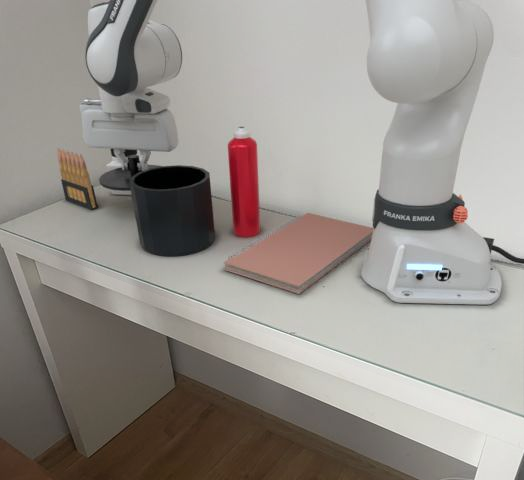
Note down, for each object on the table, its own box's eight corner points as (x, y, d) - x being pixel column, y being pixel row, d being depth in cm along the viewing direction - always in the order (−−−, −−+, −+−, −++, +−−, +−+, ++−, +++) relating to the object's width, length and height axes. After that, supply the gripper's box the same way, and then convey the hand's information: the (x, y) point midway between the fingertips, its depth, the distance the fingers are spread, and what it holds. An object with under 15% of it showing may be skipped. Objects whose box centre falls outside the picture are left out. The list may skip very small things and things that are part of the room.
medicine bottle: (139, 195, 127) (130, 143, 120) (111, 194, 128) (101, 143, 121) (150, 186, 132) (142, 135, 125) (123, 185, 134) (114, 135, 127)
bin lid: (185, 172, 117) (182, 148, 114) (153, 196, 105) (149, 169, 102) (123, 168, 121) (118, 144, 118) (85, 190, 109) (80, 165, 106)
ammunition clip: (98, 207, 121) (86, 154, 114) (91, 210, 120) (79, 156, 113) (72, 198, 127) (59, 146, 120) (65, 200, 126) (52, 148, 119)
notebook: (303, 219, 111) (303, 210, 110) (375, 237, 103) (376, 227, 102) (219, 269, 94) (218, 259, 93) (298, 295, 85) (299, 284, 84)
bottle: (240, 225, 110) (234, 123, 98) (264, 228, 108) (261, 124, 96) (228, 235, 106) (221, 130, 94) (253, 238, 104) (249, 132, 92)
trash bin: (225, 229, 108) (220, 167, 101) (198, 260, 97) (190, 193, 90) (161, 223, 112) (152, 163, 105) (127, 252, 101) (114, 187, 94)
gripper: (68, 101, 104) (84, 172, 112) (163, 104, 99) (172, 178, 107) (86, 95, 109) (100, 163, 117) (177, 97, 104) (185, 168, 112)
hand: (135, 170), depth 112 cm, fingers closed on bin lid, 2 cm apart
